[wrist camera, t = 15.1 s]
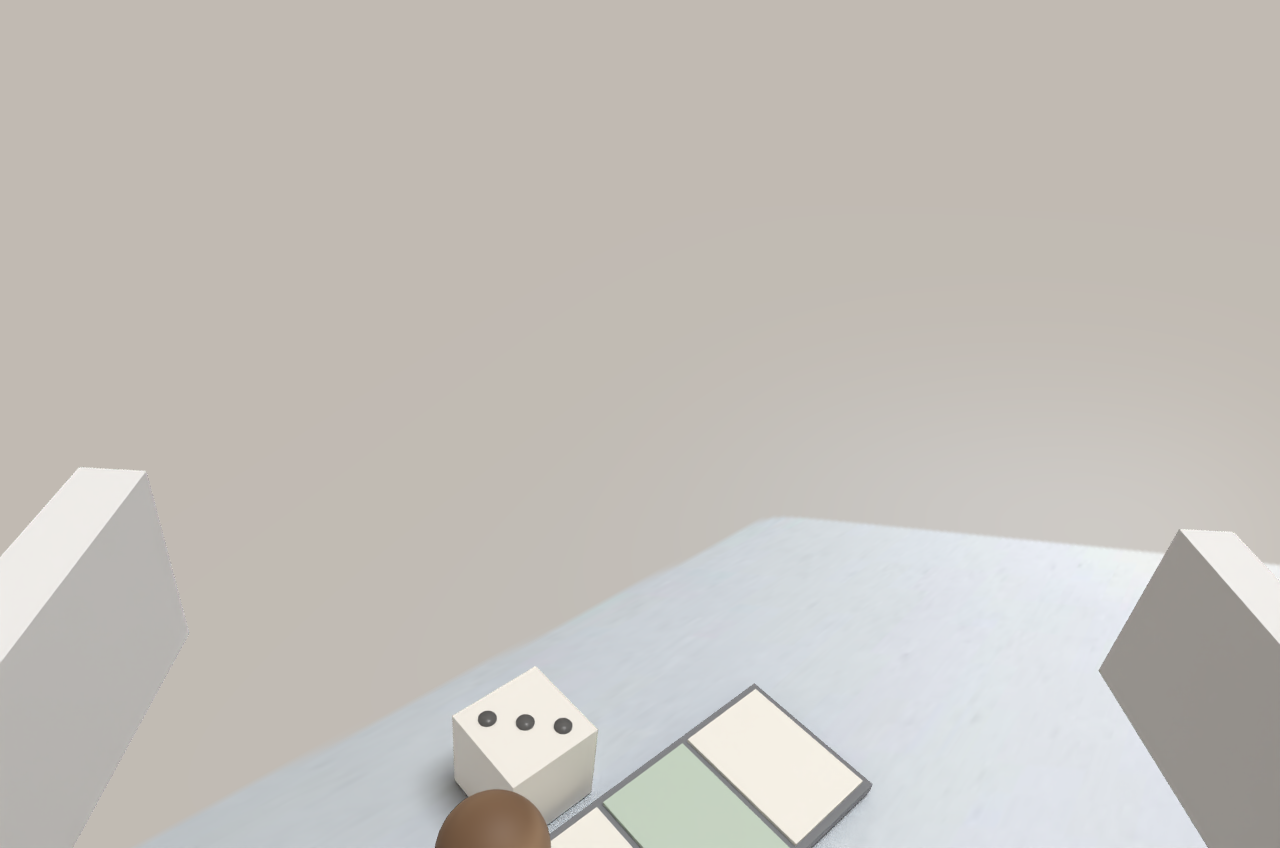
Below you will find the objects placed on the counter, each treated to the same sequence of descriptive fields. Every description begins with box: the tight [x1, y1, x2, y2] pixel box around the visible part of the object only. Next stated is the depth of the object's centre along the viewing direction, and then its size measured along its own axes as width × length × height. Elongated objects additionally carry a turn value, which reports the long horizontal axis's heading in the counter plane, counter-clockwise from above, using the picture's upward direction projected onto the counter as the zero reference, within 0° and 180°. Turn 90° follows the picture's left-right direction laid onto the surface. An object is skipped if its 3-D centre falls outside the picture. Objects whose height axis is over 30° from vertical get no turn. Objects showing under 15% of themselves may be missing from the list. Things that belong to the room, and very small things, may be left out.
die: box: [452, 666, 598, 825], centre depth 43 cm, size 5×5×5 cm
